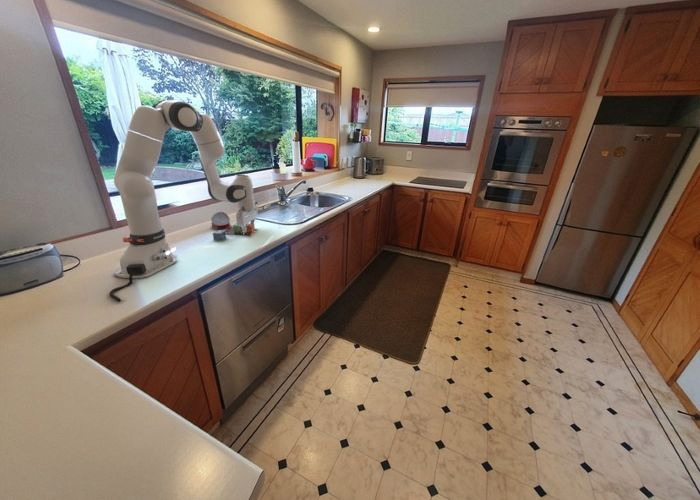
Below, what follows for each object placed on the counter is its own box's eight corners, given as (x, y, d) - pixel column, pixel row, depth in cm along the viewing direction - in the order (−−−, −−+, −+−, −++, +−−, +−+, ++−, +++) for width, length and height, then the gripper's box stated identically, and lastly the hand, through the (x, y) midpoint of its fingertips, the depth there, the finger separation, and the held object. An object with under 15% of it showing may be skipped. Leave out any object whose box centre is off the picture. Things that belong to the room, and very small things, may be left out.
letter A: (241, 233, 156) (240, 225, 155) (233, 232, 157) (232, 225, 155) (244, 230, 160) (243, 223, 159) (237, 230, 161) (236, 222, 159)
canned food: (230, 232, 171) (236, 219, 167) (221, 236, 161) (227, 222, 158) (214, 222, 170) (220, 209, 167) (204, 226, 161) (210, 211, 157)
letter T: (222, 241, 146) (220, 233, 144) (214, 241, 146) (212, 233, 144) (226, 238, 150) (225, 230, 148) (218, 238, 150) (217, 230, 148)
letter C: (252, 233, 156) (251, 226, 154) (244, 233, 156) (243, 225, 154) (255, 231, 160) (254, 223, 158) (247, 230, 160) (246, 223, 158)
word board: (249, 237, 153) (249, 236, 152) (219, 235, 154) (219, 234, 154) (258, 229, 164) (257, 228, 163) (229, 228, 165) (229, 227, 164)
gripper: (243, 210, 142) (246, 235, 148) (258, 200, 161) (261, 223, 166) (231, 209, 142) (235, 235, 148) (248, 200, 161) (250, 222, 167)
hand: (249, 228), depth 157 cm, fingers open, 8 cm apart
